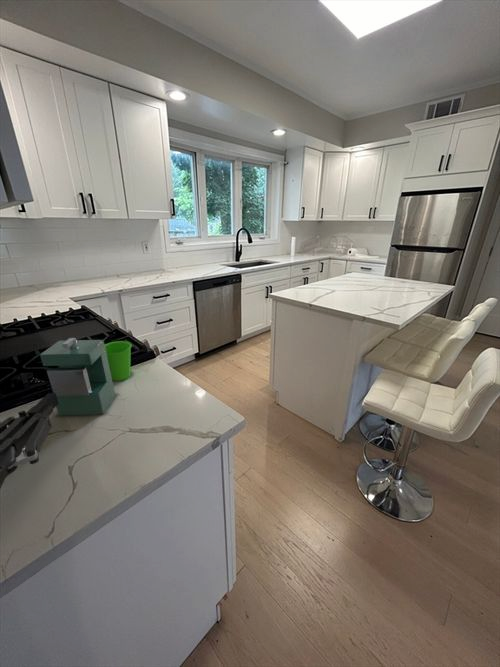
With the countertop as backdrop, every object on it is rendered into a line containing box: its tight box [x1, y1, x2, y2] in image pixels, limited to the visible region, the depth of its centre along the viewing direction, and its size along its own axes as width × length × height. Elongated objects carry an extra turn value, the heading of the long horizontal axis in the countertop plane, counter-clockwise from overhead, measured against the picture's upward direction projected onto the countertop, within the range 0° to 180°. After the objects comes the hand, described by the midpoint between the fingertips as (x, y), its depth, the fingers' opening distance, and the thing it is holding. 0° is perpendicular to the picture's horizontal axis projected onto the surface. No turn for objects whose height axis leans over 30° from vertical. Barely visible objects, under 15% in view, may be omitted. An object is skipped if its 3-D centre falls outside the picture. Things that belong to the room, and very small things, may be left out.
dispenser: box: [39, 337, 116, 416], centre depth 71 cm, size 11×8×20 cm
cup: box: [104, 340, 133, 382], centre depth 86 cm, size 9×9×11 cm
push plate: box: [46, 367, 92, 396], centre depth 66 cm, size 8×2×7 cm, turn 94°
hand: (53, 398), depth 60 cm, fingers closed
